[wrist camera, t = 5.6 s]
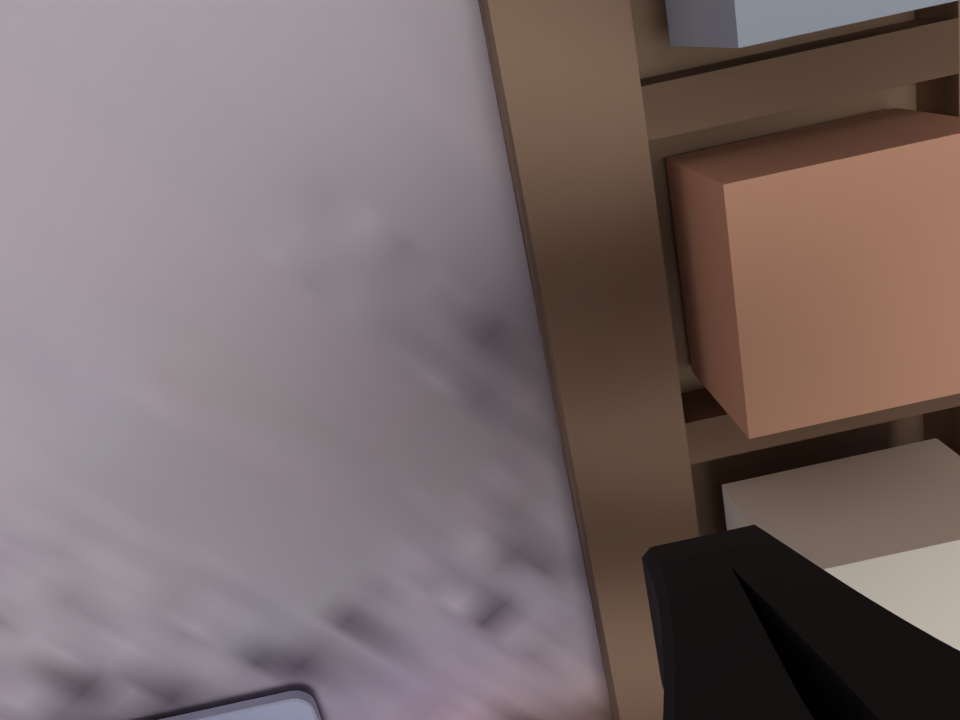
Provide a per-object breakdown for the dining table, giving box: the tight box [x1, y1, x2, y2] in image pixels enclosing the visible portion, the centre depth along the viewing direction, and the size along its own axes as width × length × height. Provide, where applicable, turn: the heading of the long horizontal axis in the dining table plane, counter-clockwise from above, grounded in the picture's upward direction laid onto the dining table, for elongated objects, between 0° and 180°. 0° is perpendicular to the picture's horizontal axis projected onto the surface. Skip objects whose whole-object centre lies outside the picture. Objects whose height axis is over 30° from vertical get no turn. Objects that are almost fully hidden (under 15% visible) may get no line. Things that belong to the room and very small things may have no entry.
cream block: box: [722, 438, 960, 651], centre depth 18 cm, size 5×5×4 cm
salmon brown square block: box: [666, 108, 960, 439], centre depth 17 cm, size 5×5×4 cm
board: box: [478, 0, 960, 720], centre depth 18 cm, size 26×11×2 cm, turn 11°
